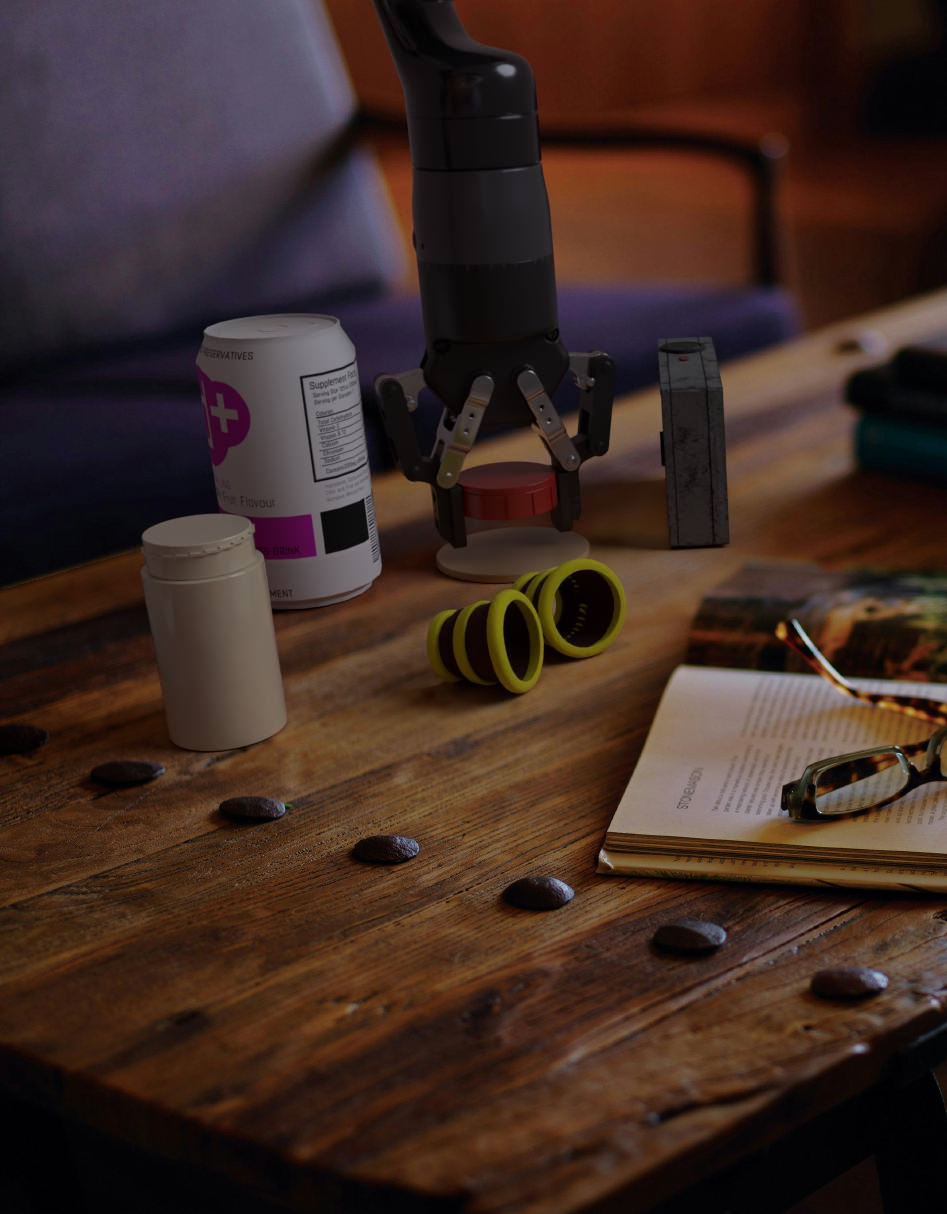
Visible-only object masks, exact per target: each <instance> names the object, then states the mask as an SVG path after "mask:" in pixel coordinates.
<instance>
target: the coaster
mask: <svg viewBox="0 0 947 1214" xmlns="http://www.w3.org/2000/svg"><path fill="white" fill-rule="evenodd" d="M466 535H467V547H463V548H457V549H454V548H453V547H452V546H451V544H450V543H449V542H448V543H446V544H444V545H443V546H442V547H441V548H439V549H438V551H437V553H436V556H435V559H436V566H437V568H438V570H439V571H440V572H442V573H443V574H444V575H446V576H448V577H451V578H453V579H457V580H461V581H466V582H474V583H484V584H485V583H487V584H507V583H509V584H510V583H515V581H516V580H517V579H519V578H520V577H521V576H523V575H525V574H528V573H533V572H539V573H542V572H544V571H547V570H549V569H553V568H557V567H559V566H560V565H562V564H563V563H566V562H568V561H571V560H574V559H589V557H590V554H591V550H590V549H591V547H590V542H589V540H588V539H587V538H586V537H585V536H583V535H581V533H580V534H579V533H577V532H575V531H573V530H572V531H567V532H559V531H558V530H557V529H556V528H555V527H548V526H512V527H500V528H495V529H487V530H482V531H478V532H473V533H471V534H466Z"/></svg>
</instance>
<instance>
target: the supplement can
mask: <svg viewBox="0 0 947 1214" xmlns="http://www.w3.org/2000/svg"><path fill="white" fill-rule="evenodd" d="M203 336H204V337H203V340H202V343H201V346H200V348H199V350H198V353H197V356H196V359H195V366H196V373H197V378H198V379H197V380H198V385H199V392H200V397H201V403H202V404H201V405H202V409H203V416H204V422H205V428H206V435H207V441H208V448H209V455H210V461H211V466H212V472H213V478H214V486H215V491H216V497H217V504H218V511H219V514H231V515H237V516H242V517H245V518H247V519H249V520H250V521H251V523H252V524H254V525H255V532H254V533H253V535H254V542H255V549H256V550H258V551H260V552H261V553H262V554H263V556H264V561H265V568H266V575H267V581H268V588H269V595H270V601H271V608H272V609H275V610H304V609H311V608H317V607H324V606H329V605H333V604H337V603H341V602H344V601H347V600H350V599H352V598H354V597H356V596H359V595H361V594H363V593H364V592H366V591H367V590H368V589H369V588H370V587H372V584H373V581H374V580H375V579H376V578H378V576H380V575H381V573H382V567H383V564H382V555H381V548H380V540H379V539H380V538H379V532H378V522H377V515H376V508H375V507H376V505H375V499H374V489H373V482H372V473H371V466H370V458H369V450H368V441H367V434H366V427H365V418H364V410H363V401H362V395H361V394H362V393H361V386H360V379H359V369H358V362H357V354H356V346H355V344H354V343H353V342H352V341H351V339H350V338H349V336H348V335H347V333H346V332H345V330H344V329H343V327H342V326H341V322H340V318H339V319H338V318H337V317H336V316H333V315H327V314H322V313H321V314H320V313H303V312H302V313H299V312H298V313H275V314H274V313H273V314H264V315H262V314H261V315H255V316H254V315H253V316H246V317H241V318H239V317H238V318H233V319H229V320H225V321H221V322H217V323H215V324H212V325H209V326H207V327H206V328H205V329H204V330H203Z"/></svg>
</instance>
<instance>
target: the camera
mask: <svg viewBox="0 0 947 1214" xmlns="http://www.w3.org/2000/svg"><path fill="white" fill-rule="evenodd" d="M656 340H657V355H658V378H659V380H658V381H659V395H660V404H661V405H660V408H661V409H660V410H661V424H662V426H661V427H662V431H660V428H659V443H660V463H661V467H664V477H665V478H664V480H665V492H666V507H667V508H666V509H667V527H668V539H669V540H668V543H669V548H678V547H695V546H697V547H698V546H714V545H730V544H731V543H730V542H731V538H730V519H729V518H730V517H729V494H728V474H727V473H728V470H727V451H726V450H727V449H726V427H725V404H724V386H723V381H722V375H721V372H720V368H719V363H718V359H717V354H716V349H715V345H714V341H713V336H692V337H690V336H689V337H669V338H668V337H667V338H657V339H656Z"/></svg>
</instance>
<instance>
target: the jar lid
mask: <svg viewBox="0 0 947 1214" xmlns="http://www.w3.org/2000/svg"><path fill="white" fill-rule="evenodd" d="M548 465H549V464H545V463H541V462H533V461H520V460H518V461H517V460H516V461H514V460H513V461H512V460H511V461H500V462H499V461H497V462H490V463H485V464H479V465H475V466H471V467H468V468H466V469H463V470H461V472H460V475H459V478H458V481H457V484H458V485H459V486H460V487H461V488H462V495H463V505H464V515H465V518H469V519H472V520H473V519H474V520H480V521H511V520H513V521H514V520H521V519H527V518H531V517H535V516H536V517H537V516H540V515H542V514H545V513H547V512H550V510H551V509H553V508H554V507H555V506H556V505H557V503H558V501H557V500H558V494H557V482H556V476H555V470H554V469H553V468H552V467H550V466H548Z"/></svg>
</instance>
